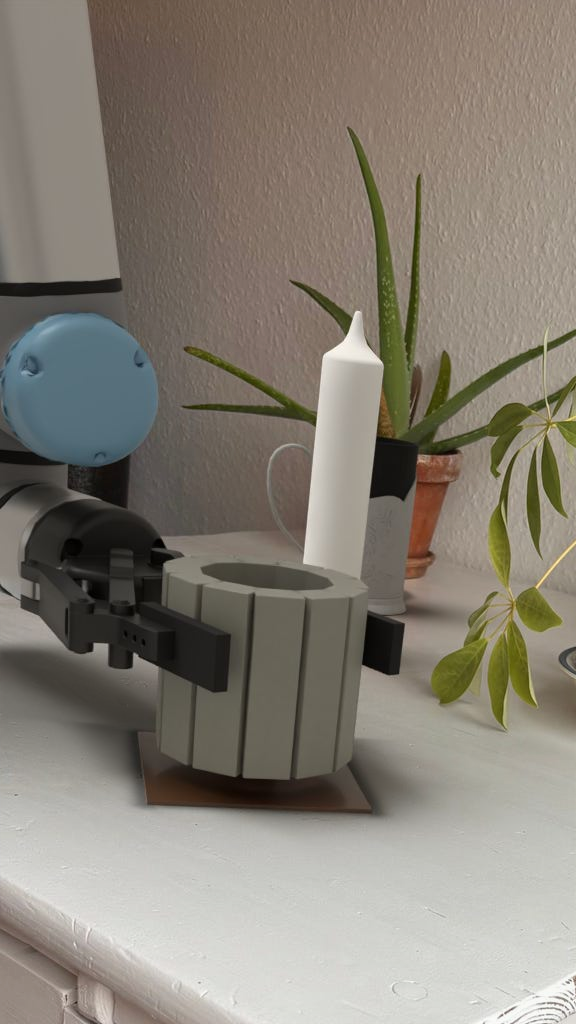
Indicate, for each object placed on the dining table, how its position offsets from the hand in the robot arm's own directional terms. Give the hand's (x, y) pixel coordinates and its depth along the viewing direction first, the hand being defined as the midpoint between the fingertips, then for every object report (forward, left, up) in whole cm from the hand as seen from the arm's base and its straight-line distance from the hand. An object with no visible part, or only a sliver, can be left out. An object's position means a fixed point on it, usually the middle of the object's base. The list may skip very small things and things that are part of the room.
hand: (314, 656), depth 63 cm
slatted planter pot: (-2, +4, -6) cm, 7 cm away
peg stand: (-2, +4, -9) cm, 10 cm away
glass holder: (+12, +58, -9) cm, 60 cm away
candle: (+8, +39, -9) cm, 40 cm away
